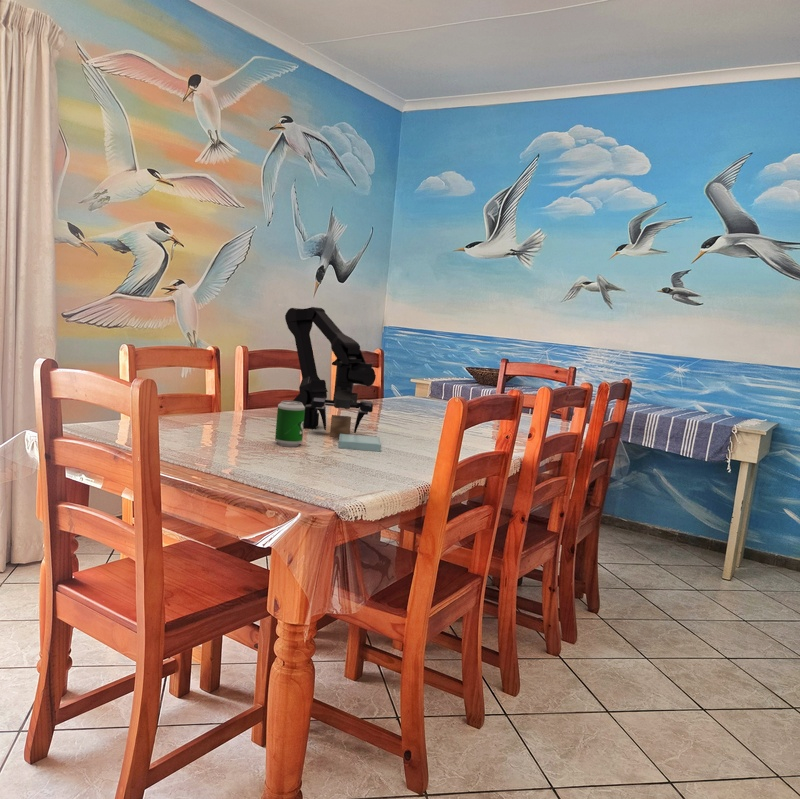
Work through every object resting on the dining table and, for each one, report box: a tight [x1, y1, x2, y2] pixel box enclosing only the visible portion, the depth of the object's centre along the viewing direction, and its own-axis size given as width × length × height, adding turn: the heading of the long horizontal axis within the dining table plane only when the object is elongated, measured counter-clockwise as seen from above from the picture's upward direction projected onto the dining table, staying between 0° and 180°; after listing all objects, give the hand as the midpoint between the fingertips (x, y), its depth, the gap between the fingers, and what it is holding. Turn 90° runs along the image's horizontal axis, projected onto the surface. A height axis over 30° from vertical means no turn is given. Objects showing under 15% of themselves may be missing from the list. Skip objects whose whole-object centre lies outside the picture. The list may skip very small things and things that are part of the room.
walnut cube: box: [329, 414, 352, 439], centre depth 215 cm, size 6×6×6 cm
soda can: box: [274, 400, 305, 448], centre depth 194 cm, size 8×8×12 cm
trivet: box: [337, 433, 382, 453], centre depth 203 cm, size 12×12×2 cm
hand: (339, 431), depth 215 cm, fingers open, 9 cm apart
